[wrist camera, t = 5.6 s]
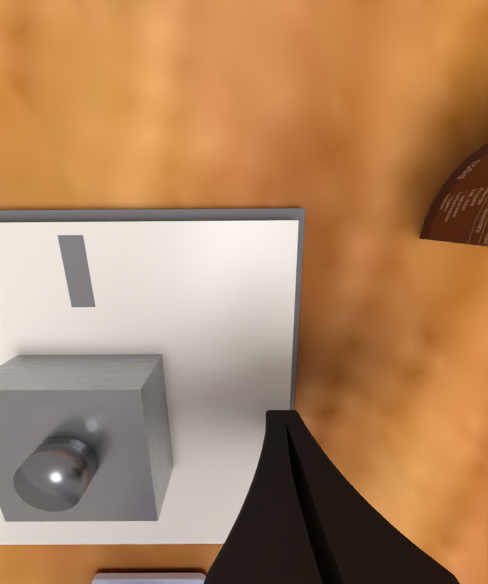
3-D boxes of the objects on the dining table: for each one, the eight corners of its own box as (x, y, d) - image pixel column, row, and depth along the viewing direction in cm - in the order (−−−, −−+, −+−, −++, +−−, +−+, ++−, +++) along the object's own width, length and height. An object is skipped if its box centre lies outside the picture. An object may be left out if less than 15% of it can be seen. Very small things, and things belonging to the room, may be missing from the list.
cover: (173, 466, 13) (149, 550, 10) (48, 467, 13) (-18, 551, 10) (161, 354, 12) (128, 409, 8) (17, 354, 12) (-76, 410, 8)
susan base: (285, 511, 17) (287, 525, 16) (-2, 513, 17) (-14, 527, 16) (301, 209, 12) (305, 208, 11) (-112, 211, 12) (-136, 211, 11)
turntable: (280, 523, 16) (290, 605, 12) (-60, 525, 16) (-142, 608, 12) (293, 220, 11) (316, 220, 8) (-197, 224, 11) (-391, 225, 8)
